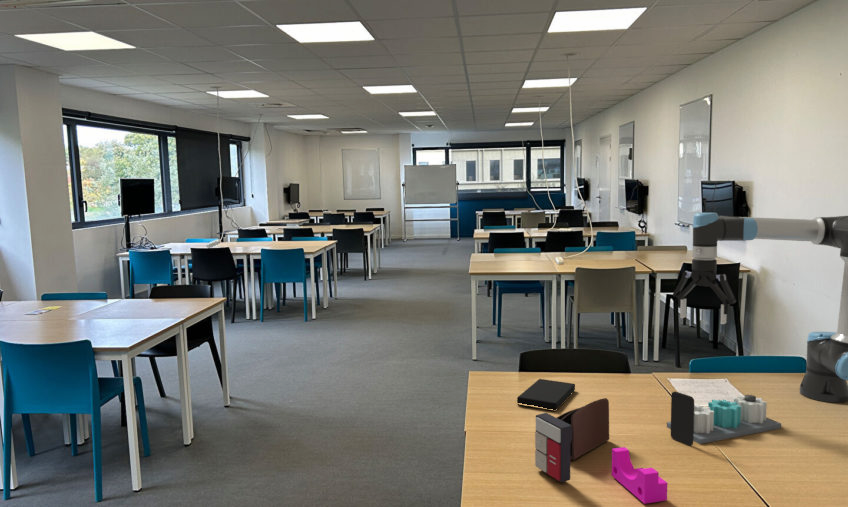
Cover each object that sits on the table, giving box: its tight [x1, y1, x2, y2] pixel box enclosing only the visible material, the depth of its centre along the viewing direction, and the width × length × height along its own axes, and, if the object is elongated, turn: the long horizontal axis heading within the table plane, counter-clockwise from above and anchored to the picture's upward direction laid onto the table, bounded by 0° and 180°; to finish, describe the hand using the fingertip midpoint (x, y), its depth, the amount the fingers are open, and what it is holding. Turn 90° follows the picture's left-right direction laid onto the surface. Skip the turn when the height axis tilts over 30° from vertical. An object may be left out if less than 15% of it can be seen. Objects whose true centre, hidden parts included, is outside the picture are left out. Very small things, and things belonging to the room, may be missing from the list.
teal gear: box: [707, 399, 741, 428], centre depth 189 cm, size 9×9×6 cm
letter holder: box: [556, 398, 610, 461], centre depth 178 cm, size 10×20×14 cm, turn 133°
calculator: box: [534, 412, 572, 483], centre depth 161 cm, size 11×4×15 cm, turn 28°
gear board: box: [666, 394, 782, 445], centre depth 188 cm, size 32×14×9 cm, turn 109°
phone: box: [670, 391, 695, 447], centre depth 178 cm, size 7×1×15 cm, turn 31°
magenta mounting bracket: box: [611, 446, 668, 505], centre depth 153 cm, size 15×6×8 cm, turn 13°
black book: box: [516, 378, 576, 411], centre depth 220 cm, size 14×23×3 cm, turn 150°
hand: (702, 320), depth 203 cm, fingers open, 13 cm apart
